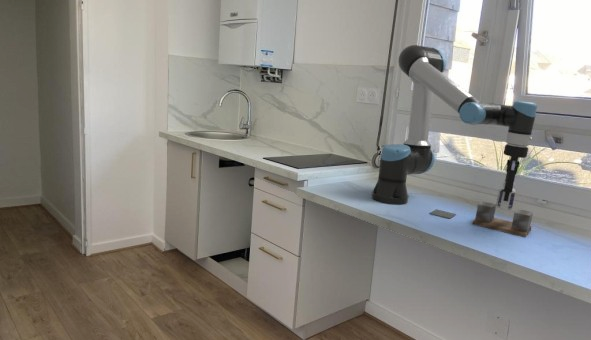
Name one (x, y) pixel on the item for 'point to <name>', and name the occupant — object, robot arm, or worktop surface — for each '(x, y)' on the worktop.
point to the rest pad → (442, 214)
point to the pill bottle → (502, 194)
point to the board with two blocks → (516, 227)
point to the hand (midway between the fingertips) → (503, 207)
